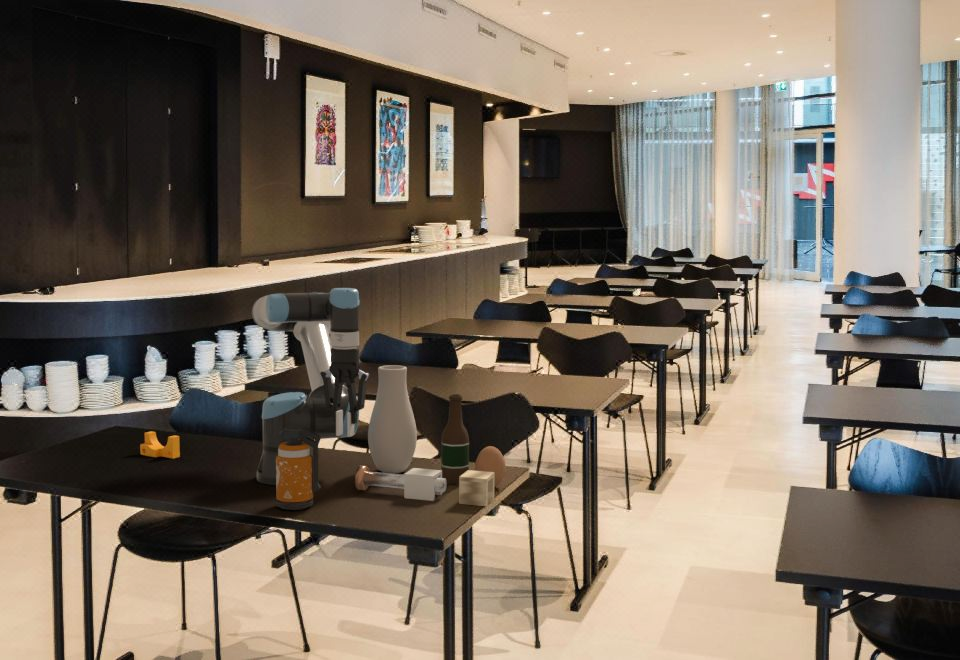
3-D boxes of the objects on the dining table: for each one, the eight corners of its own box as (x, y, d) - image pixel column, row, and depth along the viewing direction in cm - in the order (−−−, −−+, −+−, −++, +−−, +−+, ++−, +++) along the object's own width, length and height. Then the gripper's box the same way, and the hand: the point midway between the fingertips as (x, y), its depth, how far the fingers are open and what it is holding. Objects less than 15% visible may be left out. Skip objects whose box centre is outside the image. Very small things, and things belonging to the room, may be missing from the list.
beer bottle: (465, 485, 281) (466, 398, 278) (437, 483, 282) (438, 396, 280) (471, 478, 288) (472, 393, 286) (444, 476, 290) (445, 391, 287)
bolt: (355, 492, 272) (355, 468, 271) (364, 486, 278) (364, 462, 277) (440, 500, 265) (440, 476, 264) (448, 494, 271) (448, 470, 271)
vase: (370, 478, 287) (370, 371, 283) (365, 466, 300) (365, 364, 297) (420, 476, 290) (420, 370, 286) (412, 464, 303) (413, 363, 299)
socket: (459, 503, 263) (459, 476, 263) (467, 496, 270) (467, 470, 269) (486, 506, 261) (486, 479, 260) (494, 498, 268) (494, 472, 267)
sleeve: (404, 498, 268) (404, 473, 267) (413, 491, 274) (413, 467, 273) (433, 500, 266) (433, 476, 265) (441, 494, 272) (442, 470, 271)
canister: (278, 501, 263) (277, 424, 261) (322, 501, 264) (322, 424, 262) (274, 512, 254) (273, 431, 252) (320, 511, 255) (319, 431, 253)
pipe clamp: (140, 454, 312) (139, 433, 312) (151, 452, 316) (151, 431, 315) (168, 460, 306) (168, 438, 305) (179, 457, 310) (179, 436, 309)
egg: (509, 490, 276) (510, 448, 275) (479, 492, 274) (480, 450, 273) (500, 482, 284) (500, 442, 283) (471, 484, 282) (471, 443, 281)
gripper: (311, 347, 271) (312, 436, 273) (366, 350, 266) (366, 440, 269) (323, 344, 278) (324, 430, 280) (378, 346, 273) (378, 434, 276)
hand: (345, 435), depth 275 cm, fingers open, 3 cm apart
